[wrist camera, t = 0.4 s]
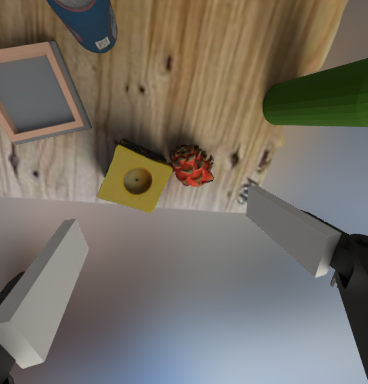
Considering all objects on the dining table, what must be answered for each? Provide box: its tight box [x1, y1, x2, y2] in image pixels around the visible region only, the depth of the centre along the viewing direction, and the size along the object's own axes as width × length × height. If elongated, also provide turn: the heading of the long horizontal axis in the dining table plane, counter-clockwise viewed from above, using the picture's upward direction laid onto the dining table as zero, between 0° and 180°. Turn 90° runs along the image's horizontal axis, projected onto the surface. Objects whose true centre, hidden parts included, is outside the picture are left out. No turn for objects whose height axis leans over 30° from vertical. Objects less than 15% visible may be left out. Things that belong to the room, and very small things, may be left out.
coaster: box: [0, 41, 92, 145], centre depth 28 cm, size 13×13×3 cm
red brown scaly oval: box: [169, 144, 217, 187], centre depth 37 cm, size 8×8×12 cm
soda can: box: [47, 0, 117, 53], centre depth 23 cm, size 7×7×12 cm
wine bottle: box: [263, 58, 368, 127], centre depth 25 cm, size 9×9×32 cm
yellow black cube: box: [97, 139, 173, 213], centre depth 34 cm, size 10×10×10 cm
